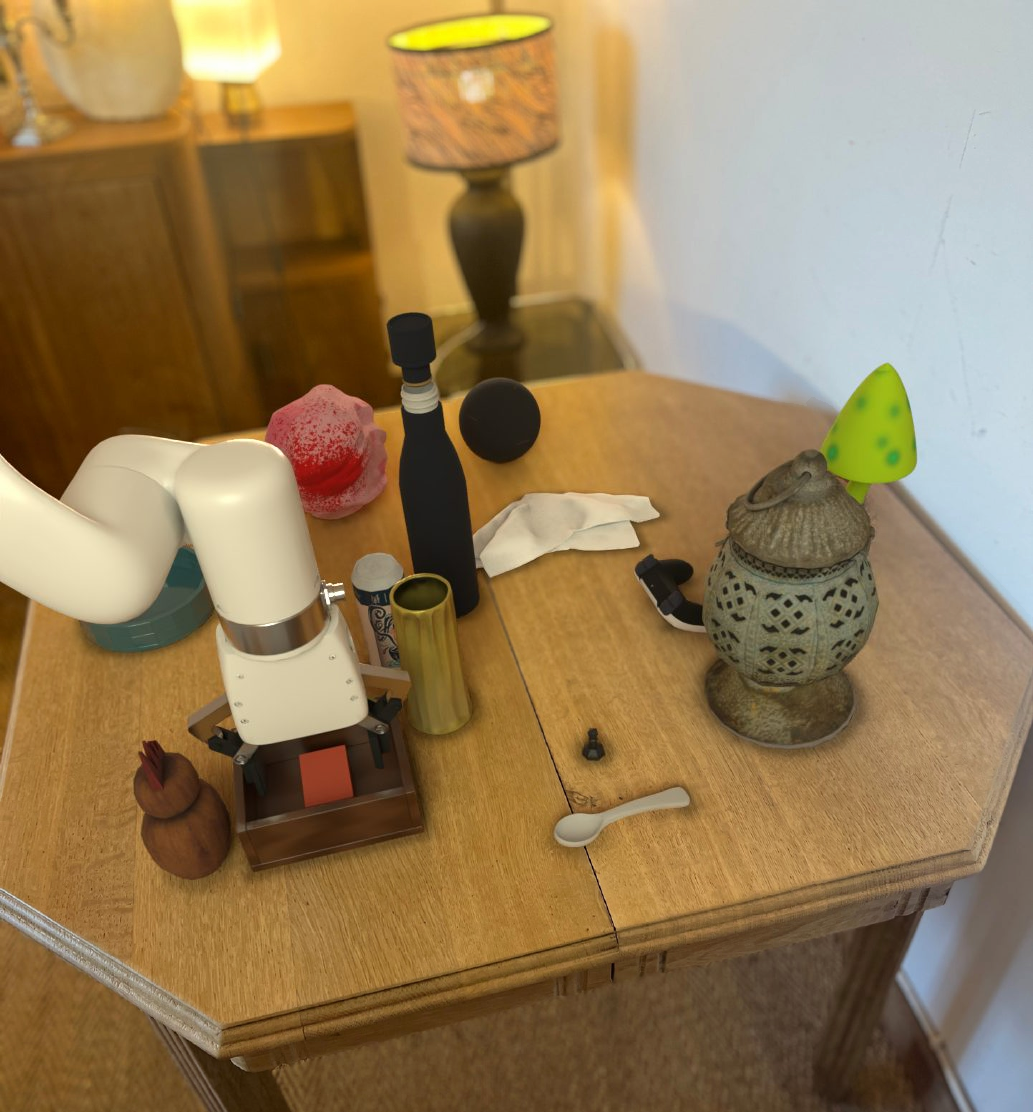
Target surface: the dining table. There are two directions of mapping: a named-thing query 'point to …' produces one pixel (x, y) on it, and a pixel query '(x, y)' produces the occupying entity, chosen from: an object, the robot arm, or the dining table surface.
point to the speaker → (499, 420)
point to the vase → (431, 653)
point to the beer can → (377, 606)
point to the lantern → (789, 607)
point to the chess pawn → (593, 747)
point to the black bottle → (431, 468)
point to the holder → (300, 834)
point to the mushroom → (873, 434)
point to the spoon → (614, 816)
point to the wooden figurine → (180, 814)
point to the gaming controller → (670, 591)
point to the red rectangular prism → (326, 776)
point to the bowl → (161, 611)
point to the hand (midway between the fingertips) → (321, 769)
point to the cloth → (558, 527)
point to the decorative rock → (331, 451)
